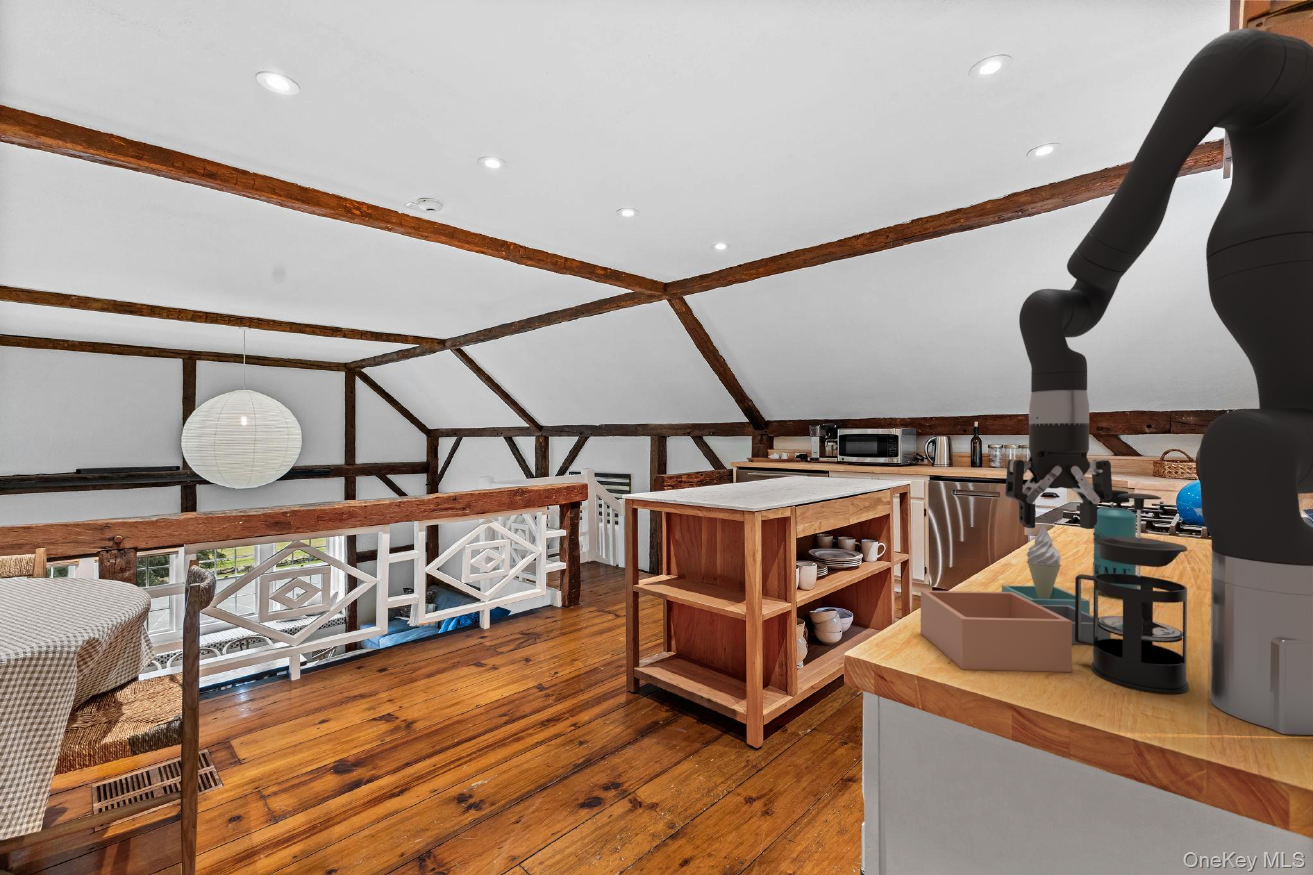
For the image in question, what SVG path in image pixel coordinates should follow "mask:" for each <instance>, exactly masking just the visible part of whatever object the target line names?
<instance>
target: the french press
mask: <svg viewBox="0 0 1313 875" xmlns="http://www.w3.org/2000/svg"><path fill="white" fill-rule="evenodd" d="M1118 497H1122V498H1129V499H1133V507H1134V508H1133V509H1134V510H1136V537H1098V538H1094V537H1093V540H1094V541H1093V543H1094V542H1095V543H1097V544H1098V556H1099V557H1100V558H1102V559H1105V560H1109V561H1113V562H1118V563H1123V564H1130V565H1136V575H1131V574H1116V573H1105V574H1097V575H1094V576H1093V575H1090V574H1085V573H1084V574H1081V573H1079V574H1078V575H1076V576H1075V579H1074V580H1075V582H1074V583H1075V585H1074V595H1075V641H1076V642H1078V643H1081V644H1080V645H1087V646H1091V647H1093V648H1092V662H1091V665H1090V669H1091V671H1092V672H1093V673H1094V675H1096V676H1098V677H1100V678H1101V679H1104V680H1105V681H1107V682H1110V683H1112V684H1116V685H1119V686H1121V687H1124V688H1125V687H1126V688H1128V689H1132V690H1136V691H1142V692H1146V693H1152V694H1153V693H1154V694H1160V695H1161V694H1163V695H1177V694H1183V693H1186V692H1188V691H1189V688H1190V684H1189V682H1188V680H1187V653H1188V652H1187V651H1188V650H1187V647H1188V646H1187V644H1188V643H1187V641H1188V640H1187V638H1188V636H1187V634H1188V633H1187V631H1188V628H1187V627H1188V626H1187V624H1188V623H1187V622H1188V620H1187V619H1188V612H1187V611H1188V588H1187V586H1186V585H1183V584H1182V583H1179V582H1176V581H1172V580H1167V579H1163V578H1159V577H1154V576H1146V575H1141V571H1142V570H1141V568H1142V567H1148V568H1149V567H1150V568H1162V567H1166V566H1168V565H1170V563H1172V562H1174V560H1175V559H1176V558H1177V557H1178V556H1179V555H1180V554H1181V553H1186V552H1188V547H1187V546H1186V545H1183V544H1179V543H1175V542H1170V541H1165V540H1159V539H1156V538H1155V539H1154V538H1147V537H1146V538H1145V537H1141V536H1142V535H1141V534H1142V533H1141V531H1142V527H1141V526H1142V524H1141V522H1142V511H1144V510H1145V500H1161V499H1162V497H1160V496H1159V495H1154V494H1150V493H1141V492H1140V493H1136V492H1135V493H1131V492H1128V493H1127V494H1120V495H1118ZM1082 580H1086V581H1092V582H1093V604H1092V605H1093V609H1092V610H1093V611H1092V613H1093V615H1092V616H1093V640H1090V639H1085V638H1082V637H1081V597H1082ZM1111 583H1114V584H1130V585H1136V589H1134V588H1128V587H1123V586H1118V585H1113V584H1111ZM1154 589H1158V590H1154ZM1099 592H1100V593H1103V594H1107V595H1110V596H1113V597H1119V598H1122V616H1121V615H1120V616H1119V615H1107V616H1099ZM1154 603H1162V604H1165V603H1166V604H1170V603H1171V604H1173V603H1175V604H1176V603H1182V630H1180V629H1179V628H1176V627H1174V626H1171V625H1169V624H1165V623H1162V622H1158V621H1155V620H1154ZM1098 626H1099V627H1100V628H1101V629H1103V630H1105V631H1107V632H1110V633H1111V634H1113V635H1116V636H1120V637H1122V638H1109V639H1099V640H1098ZM1181 641H1182V654H1180V653H1178V652H1176V651H1174V650H1173V649H1169V648H1166V647H1163V646H1161V645H1156V644H1154V643H1164V644H1165V643H1179V642H1181Z"/></svg>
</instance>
